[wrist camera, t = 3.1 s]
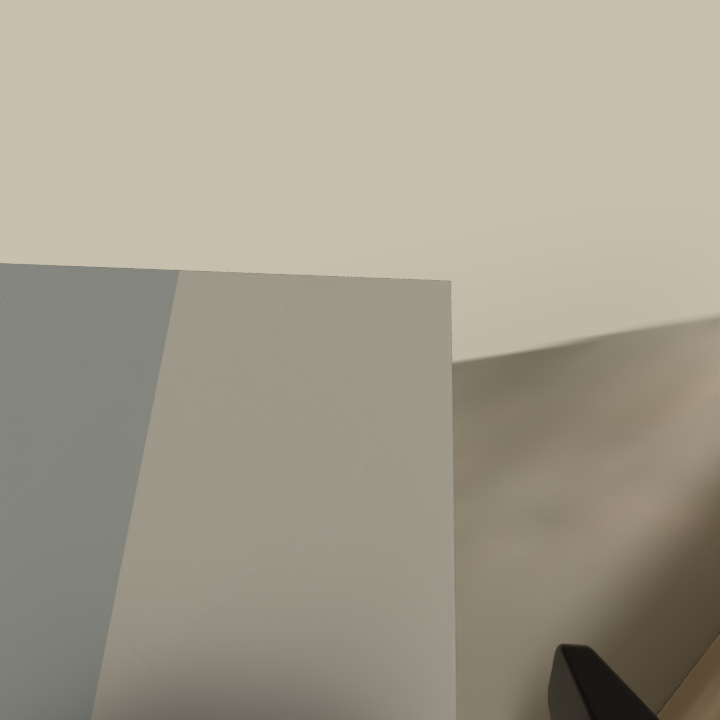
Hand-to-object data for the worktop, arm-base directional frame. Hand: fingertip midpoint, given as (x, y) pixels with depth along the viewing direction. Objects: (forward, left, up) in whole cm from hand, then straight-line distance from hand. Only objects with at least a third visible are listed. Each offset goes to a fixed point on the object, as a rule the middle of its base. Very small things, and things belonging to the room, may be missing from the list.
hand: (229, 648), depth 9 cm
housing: (+1, -1, -8) cm, 8 cm away
